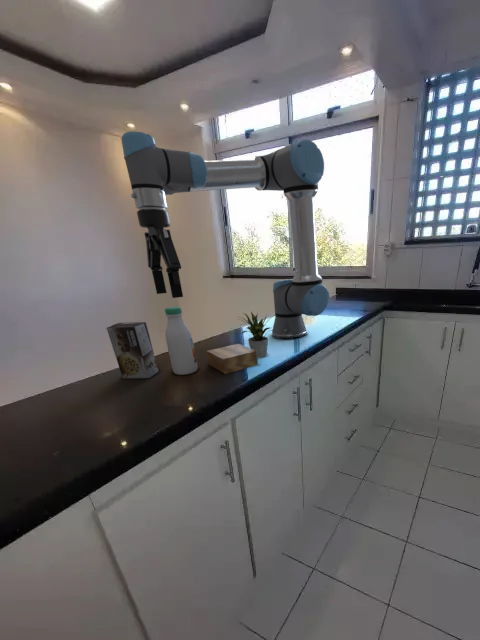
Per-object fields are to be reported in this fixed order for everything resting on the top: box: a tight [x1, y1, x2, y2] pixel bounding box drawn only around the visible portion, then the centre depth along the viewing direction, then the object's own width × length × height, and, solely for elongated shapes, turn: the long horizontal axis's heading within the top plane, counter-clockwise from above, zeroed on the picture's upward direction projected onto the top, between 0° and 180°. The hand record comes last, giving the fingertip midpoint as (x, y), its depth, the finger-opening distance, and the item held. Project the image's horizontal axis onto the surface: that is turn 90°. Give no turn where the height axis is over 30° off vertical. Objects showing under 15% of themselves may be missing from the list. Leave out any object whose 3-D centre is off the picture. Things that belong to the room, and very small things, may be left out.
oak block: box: [206, 343, 259, 375], centre depth 103 cm, size 12×12×5 cm
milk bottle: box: [164, 306, 199, 376], centre depth 96 cm, size 8×8×20 cm
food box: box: [105, 321, 159, 379], centre depth 95 cm, size 9×6×16 cm
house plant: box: [236, 311, 275, 359], centre depth 109 cm, size 14×14×16 cm
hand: (169, 295), depth 90 cm, fingers open, 13 cm apart
